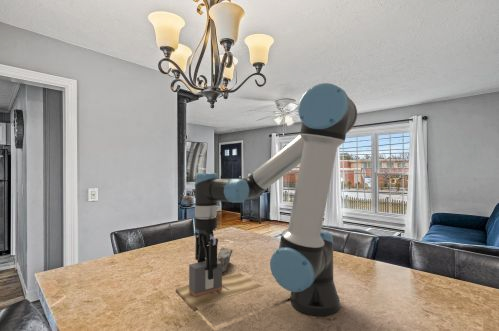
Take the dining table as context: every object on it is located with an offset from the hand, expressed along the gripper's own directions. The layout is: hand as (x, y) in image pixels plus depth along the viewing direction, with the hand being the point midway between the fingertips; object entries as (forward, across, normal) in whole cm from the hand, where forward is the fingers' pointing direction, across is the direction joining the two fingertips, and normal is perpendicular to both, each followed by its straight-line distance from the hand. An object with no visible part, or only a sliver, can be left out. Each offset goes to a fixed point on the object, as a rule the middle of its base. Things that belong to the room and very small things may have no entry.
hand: (205, 284), depth 90 cm
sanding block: (+2, 0, 0) cm, 2 cm away
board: (+3, 0, -5) cm, 6 cm away
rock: (+3, +16, -15) cm, 22 cm away
